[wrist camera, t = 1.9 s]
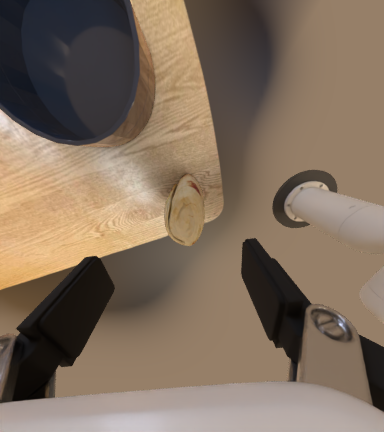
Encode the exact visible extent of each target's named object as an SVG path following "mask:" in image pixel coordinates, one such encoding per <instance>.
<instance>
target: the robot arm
mask: <svg viewBox="0 0 384 432" xmlns="http://www.w3.org/2000/svg"><path fill="white" fill-rule="evenodd" d="M284 211H285V214H286V215H287V216H288V217H289V218H290V219H292V220H294V221H300V222H301V221H305V222H307V223H309V224H310V225H312V226H314V227H315V228H317V229H319V230H320V231H322V232H324V233H325V234H327V235H329V236H330V237H332V238H334V239H336V240H337V241H339V242H340V243H342V244H344V245H345V246H347V247H349V248H351V249H353V250H356V251H359V252H363V253H370V254H384V206H381V205H377V204H374V203H370V202H367V201H363V200H360V199H356V198H352V197H349V196H345V195H341V194H338V193H335V192H331V191H329V189H328V187H327V186H326V185H325V184H324V183H321V182H317V181H308V182H305V183H302V184H300V185H298V186H297V187H295V188H294V189H293V190H292V191H291V192H290V193H289V195H288V196H287V198H286V200H285V204H284ZM241 274H242V278H243V281H244V283H245V285H246V287H247V290H248V292H249V295H250V297H251V299H252V301H253V304H254V306H255V309H256V311H257V313H258V316H259V318H260V320H261V323H262V325H263V327H264V330H265V332H266V334H267V336H268V338H269V340H273V342H274V344H275V347H276V348H282V347H283V348H284V350H285V352H286V355H287V356H288V357H289V367H288V373H287V381H286V382H282V381H281V382H280V381H271V382H253V383H233V384H219V385H205V386H192V387H179V388H166V389H154V390H141V391H129V392H117V393H105V394H92V395H81V396H69V397H58V398H55V380H56V379H55V378H56V369H57V367H58V365H60V366H61V367H67V366H72V365H73V363H74V361H75V360H76V358H77V357H78V356H79V355H80V354H81V352H82V350H83V348H84V347H85V345H86V343H87V341H88V339H89V337H90V335H91V333H92V331H93V330H94V328H95V326H96V324H97V322H98V320H99V318H100V316H101V314H102V313H103V311H104V309H105V307H106V305H107V303H108V302H109V300H110V298H111V296H112V294H113V292H114V289H115V288H114V284H113V282H112V280H111V279H110V277H109V275H108V273H107V271H106V269H105V267H104V265H103V263H102V261H101V259H100V258H98V257H97V256H92V257H86V258H84V259H83V260H82V261H81V262H80V263H79V264H78V265H77V266H76V267H75V268H74V269H73V271H72V272H71V273H70V274H69V275H68V276H67V277H66V278H65V279H64V280H63V281H62V282H61V283H60V284H59V285H58V286H57V287H56V288H55V289H54V290H53V291H52V292H51V293H50V294H49V295H48V296H47V297H46V298H45V299H44V300H43V301H42V302H41V303H40V304H39V305H38V306H37V308H35V310H34V311H33V312H32V313H31V314H30V315H29V316H28V317H27V318H26V319H25V320H24V321H23V322H22V323H21V324H20V325H19V326H18V327H17V330H18V331H19V332H21V333H20V334H19V335H18V336H16V335H14V334H6V335H2V336H0V432H384V347H382V346H380V345H379V344H377V343H375V342H372V341H371V340H369V339H367V338H365V337H363V336H361V335H359V334H358V333H357V330H356V329H355V327H354V326H353V325H352V323H351V322H350V321H349V320H348V319H347V318H346V317H345V316H343V315H342V314H340V313H339V312H337V311H336V310H334V309H332V308H330V307H327V306H324V305H320V304H311V303H310V301H309V300H308V299H307V298H306V296H305V295H304V294H303V293H302V292H301V291H300V289H299V288H298V287H297V285H296V284H295V283H294V282H293V281H292V279H291V278H290V277H289V276H288V274H287V273H286V272H285V270H284V269H283V268H282V267H281V266H280V264H279V263H278V262H277V261H276V260H275V259H273V258H271V257H270V256H269V255H268V253H267V252H266V251H265V250H264V249H263V247H262V246H261V245H260V243H259V242H258V241H257V239H255V238H254V239H246V240H245V242H243V247H242V268H241ZM359 296H360V300H361V302H362V303H363V305H364V306H365V307H366V308H367V309H368V311H369V312H370V313H371V314H373V315H374V316H375V317H376V318H377V319H379V320H380V321H381V322H382V323H383V324H384V266H383V267H382V268H381V269H380V270H379V271H378V272H377V273H376V274H375V275H374V276H372V277H371V279H369V281H367V282H366V284H365V285H364V286H363V287H362V288H361V290H360V293H359Z"/></svg>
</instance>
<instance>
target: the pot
mask: <svg viewBox="0 0 384 432" xmlns="http://www.w3.org/2000/svg"><path fill="white" fill-rule="evenodd" d="M154 99H155V75H154V68H153V63H152V59H151V54H150V51H149V48H148V46H147V43H146V41H145V38H144V35H143V33H142V30H141V28H140V25H139V23H138V20H137V17H136V15H135V12H134V10H133V7H132V5H131V2H130V0H0V109H1V110H2V111H3V112H4V113H6V114H7V115H8V116H9V117H10V118H11V119H12V120H14V121H15V122H17V123H18V124H20V125H21V126H23V127H25V128H26V129H28V130H29V131H31V132H32V133H34V134H36V135H38V136H41V137H43V138H46V139H48V140H51V141H53V142H56V143H60V144H67V145H75V146H90V147H114V146H120V145H123V144H125V143H128V142H129V141H131V140H132V139H134V138H135V137H136V136H137V135H139V133H140V132H141V131H142V130H143V129H144V127H145V125H146V124H147V122H148V120H149V118H150V115H151V112H152V109H153V104H154Z"/></svg>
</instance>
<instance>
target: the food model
mask: <svg viewBox="0 0 384 432" xmlns="http://www.w3.org/2000/svg"><path fill="white" fill-rule="evenodd" d="M204 217H205V211H204V199H203V192H202V189H201V187H200V185H199V183H198V182H197V180H196V179H195V178H194V177H193V176H192V175H190V174H185V175H184V176H183V177H182V178H181V179H180V181H179V183H178V185H177V184H175V185H174V186H173V188H172V190H171V192H170V194H169V196H168V199H167V201H166V204H165V214H164V218H165V227H166V229H167V232H168V234H169V236H170V237H171V238H172V239H173V240H174V241H175V242H177V243H179V244H182V245H186V246H191V245H193V244H194V243H195V242H196V241H197V240H198V238H199V236H200V235H201V232H202V229H203V225H204Z"/></svg>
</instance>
